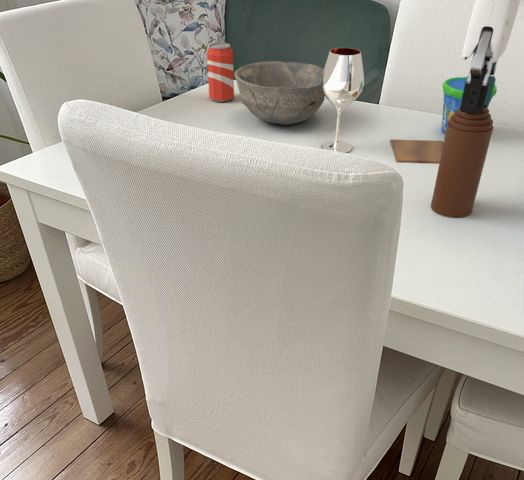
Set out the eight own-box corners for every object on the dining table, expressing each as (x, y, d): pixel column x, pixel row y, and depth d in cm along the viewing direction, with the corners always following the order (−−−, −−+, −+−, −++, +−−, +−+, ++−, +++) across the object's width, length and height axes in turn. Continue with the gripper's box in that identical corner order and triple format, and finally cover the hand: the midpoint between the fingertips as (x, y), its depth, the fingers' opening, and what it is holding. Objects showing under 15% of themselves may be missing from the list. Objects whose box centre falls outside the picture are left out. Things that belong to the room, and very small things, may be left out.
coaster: (442, 142, 120) (443, 140, 119) (453, 163, 111) (453, 161, 111) (390, 141, 120) (390, 139, 120) (396, 161, 112) (396, 160, 111)
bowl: (266, 143, 119) (267, 92, 112) (218, 114, 132) (216, 68, 125) (344, 124, 127) (349, 77, 121) (291, 100, 140) (293, 55, 134)
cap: (488, 107, 83) (494, 83, 81) (459, 103, 84) (464, 80, 82) (491, 98, 86) (497, 75, 84) (463, 95, 87) (468, 72, 85)
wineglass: (317, 139, 120) (323, 45, 109) (355, 141, 120) (366, 46, 108) (315, 154, 114) (322, 56, 103) (356, 156, 114) (368, 57, 102)
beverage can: (238, 97, 142) (237, 44, 134) (224, 104, 138) (222, 49, 130) (218, 93, 144) (216, 40, 136) (204, 100, 140) (201, 46, 132)
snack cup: (493, 147, 118) (507, 96, 111) (441, 146, 118) (452, 95, 111) (474, 121, 129) (486, 73, 123) (428, 120, 130) (437, 72, 123)
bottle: (459, 197, 100) (488, 75, 87) (479, 214, 95) (513, 88, 82) (423, 201, 99) (447, 78, 85) (442, 219, 94) (470, 92, 80)
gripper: (490, -47, 81) (460, 89, 93) (465, -32, 70) (435, 120, 81) (546, -44, 78) (508, 96, 90) (530, -28, 67) (489, 129, 79)
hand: (474, 106), depth 86 cm, fingers closed on cap, 4 cm apart
